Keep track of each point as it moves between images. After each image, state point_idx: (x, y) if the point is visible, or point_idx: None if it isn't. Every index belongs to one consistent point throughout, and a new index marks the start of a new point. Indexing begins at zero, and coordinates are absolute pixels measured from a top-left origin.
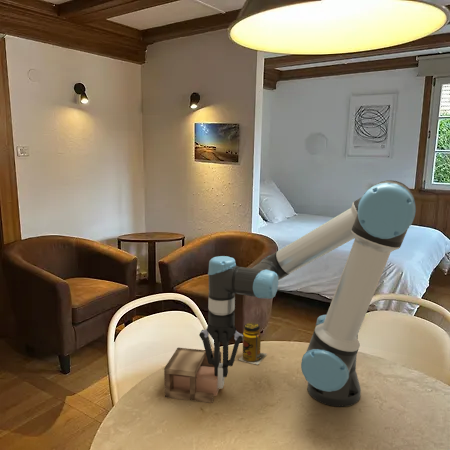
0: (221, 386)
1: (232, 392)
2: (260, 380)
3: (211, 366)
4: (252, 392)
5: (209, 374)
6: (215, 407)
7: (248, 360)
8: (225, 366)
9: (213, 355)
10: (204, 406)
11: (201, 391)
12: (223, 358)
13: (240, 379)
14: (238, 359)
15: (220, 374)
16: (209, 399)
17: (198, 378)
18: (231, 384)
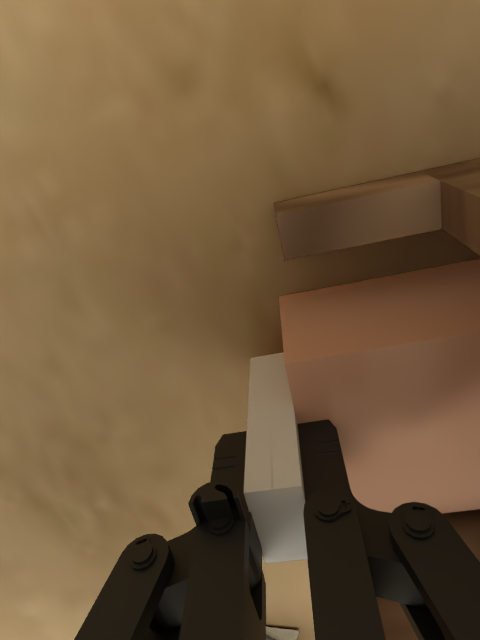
0: (258, 364)
1: (193, 370)
2: (100, 519)
3: None
4: (79, 411)
5: (387, 420)
6: (226, 158)
7: None
8: (206, 516)
9: None
10: (315, 132)
11: (402, 282)
12: (230, 623)
13: None
14: (298, 632)
15: (268, 433)
16: (298, 203)
17: (477, 330)
18: None
